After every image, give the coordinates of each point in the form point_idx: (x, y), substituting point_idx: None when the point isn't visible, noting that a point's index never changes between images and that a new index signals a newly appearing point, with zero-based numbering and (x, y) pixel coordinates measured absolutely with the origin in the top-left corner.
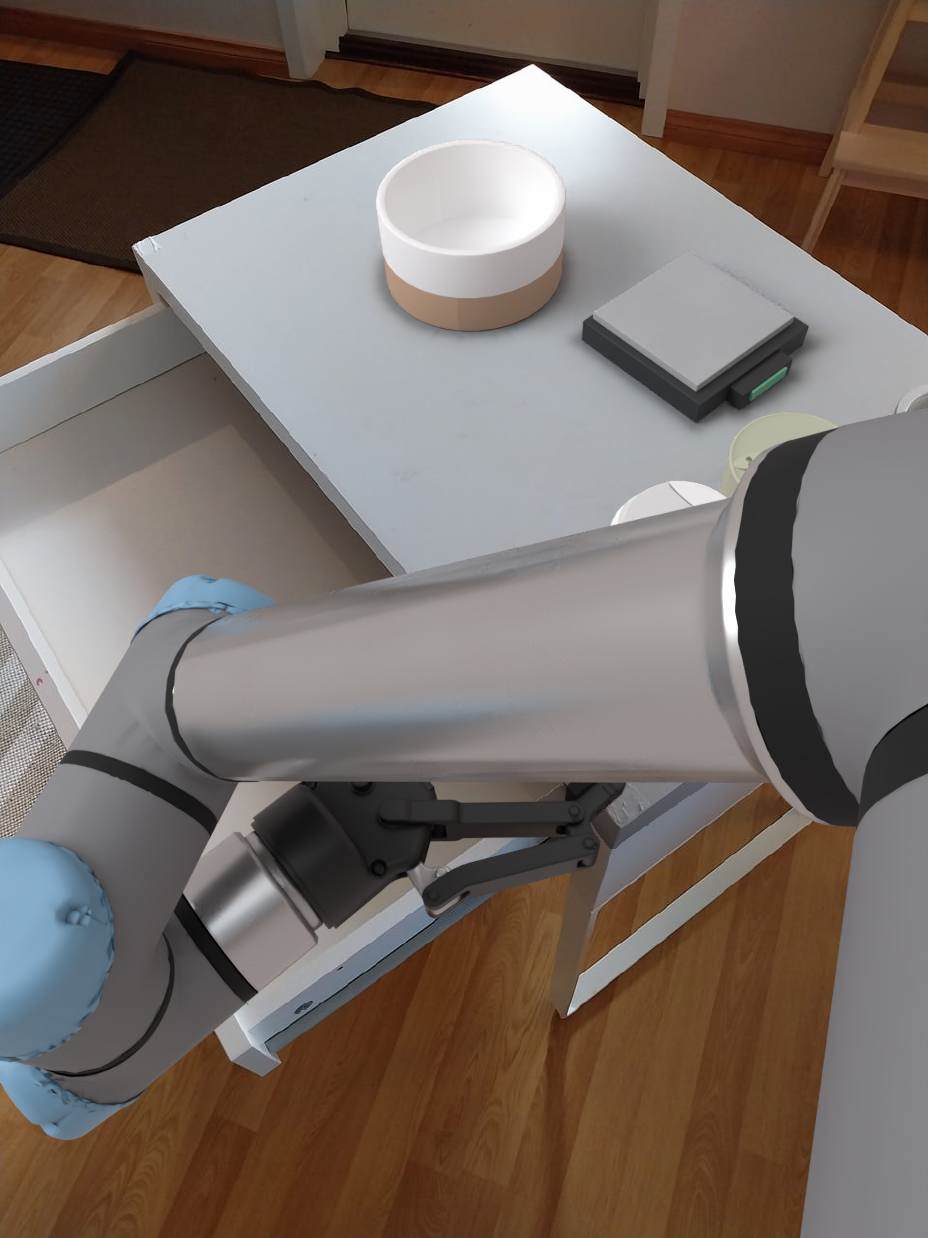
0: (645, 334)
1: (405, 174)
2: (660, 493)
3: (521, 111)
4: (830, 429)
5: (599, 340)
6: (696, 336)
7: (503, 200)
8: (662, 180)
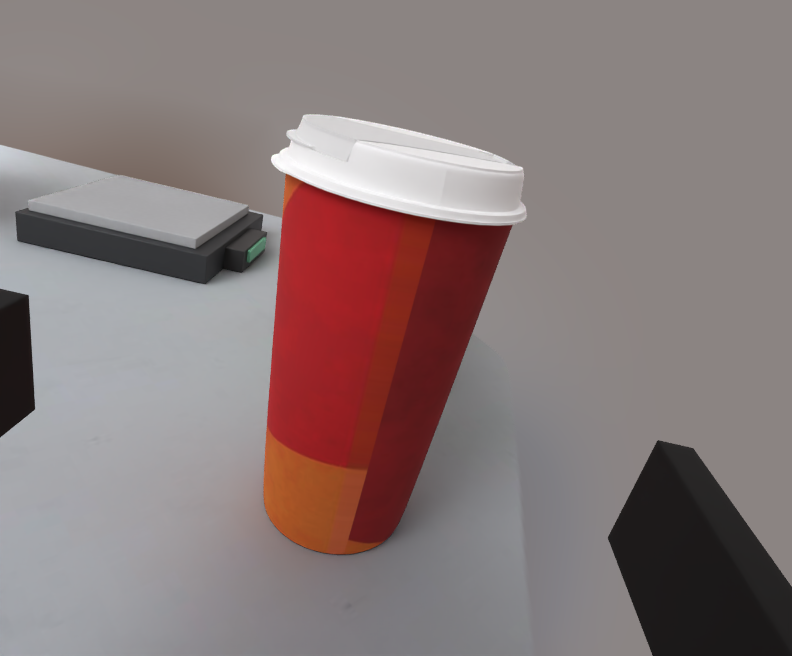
0: (108, 212)
1: None
2: (336, 119)
3: None
4: None
5: (46, 229)
6: (167, 213)
7: None
8: (57, 164)
